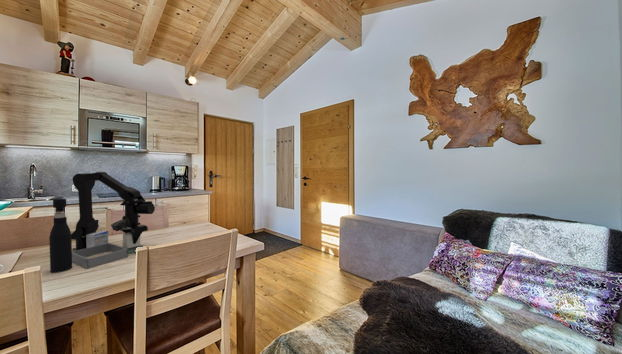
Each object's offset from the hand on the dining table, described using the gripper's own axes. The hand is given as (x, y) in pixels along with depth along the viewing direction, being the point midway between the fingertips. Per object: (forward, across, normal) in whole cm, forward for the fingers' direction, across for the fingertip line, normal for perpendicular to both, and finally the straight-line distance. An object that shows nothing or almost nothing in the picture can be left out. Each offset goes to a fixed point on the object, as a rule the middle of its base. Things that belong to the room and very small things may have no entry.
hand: (132, 242), depth 124 cm
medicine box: (+4, -16, -8) cm, 19 cm away
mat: (+4, 0, 0) cm, 4 cm away
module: (+2, 0, 0) cm, 2 cm away
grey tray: (+4, 0, -14) cm, 14 cm away
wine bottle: (+4, +1, -27) cm, 27 cm away
